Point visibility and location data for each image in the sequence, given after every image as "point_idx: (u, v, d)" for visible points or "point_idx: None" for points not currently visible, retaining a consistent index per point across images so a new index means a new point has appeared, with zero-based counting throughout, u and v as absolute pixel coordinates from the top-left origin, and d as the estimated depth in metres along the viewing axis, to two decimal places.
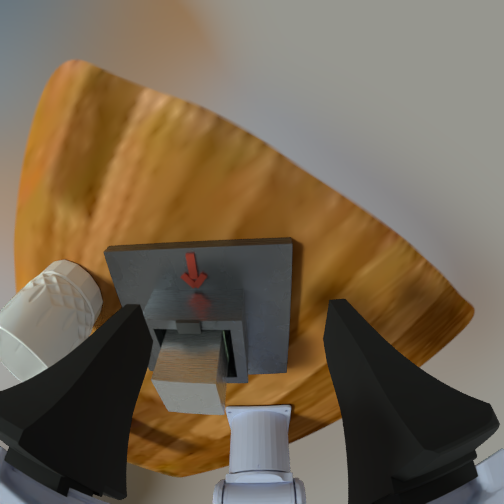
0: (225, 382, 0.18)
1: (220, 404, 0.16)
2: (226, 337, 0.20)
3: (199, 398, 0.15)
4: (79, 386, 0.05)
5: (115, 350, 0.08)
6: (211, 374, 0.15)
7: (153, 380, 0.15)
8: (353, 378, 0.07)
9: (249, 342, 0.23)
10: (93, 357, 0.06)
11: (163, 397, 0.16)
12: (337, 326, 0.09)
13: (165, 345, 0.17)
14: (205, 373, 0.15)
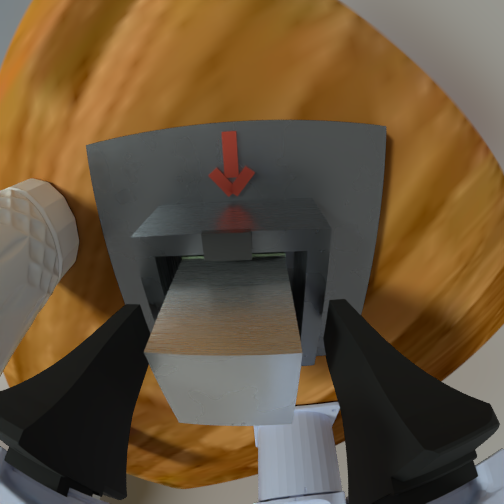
0: None
1: (293, 403, 0.07)
2: None
3: (253, 393, 0.07)
4: (79, 386, 0.05)
5: (115, 350, 0.08)
6: (287, 334, 0.07)
7: (149, 353, 0.06)
8: (353, 378, 0.07)
9: None
10: (93, 357, 0.06)
11: (170, 395, 0.07)
12: (337, 326, 0.09)
13: (177, 286, 0.09)
14: (272, 332, 0.07)
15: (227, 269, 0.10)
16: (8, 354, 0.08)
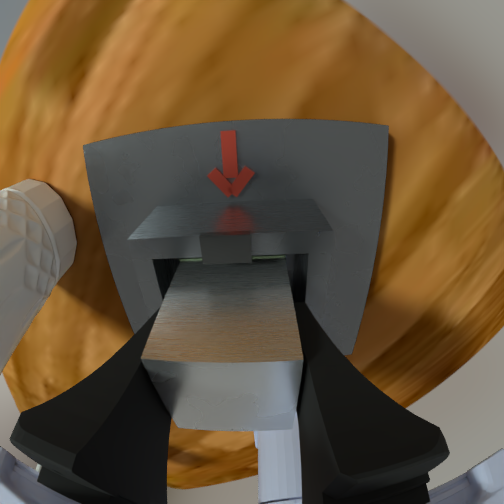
0: None
1: (294, 409, 0.07)
2: None
3: (252, 400, 0.07)
4: (127, 396, 0.05)
5: None
6: (287, 340, 0.07)
7: (146, 360, 0.06)
8: (302, 384, 0.07)
9: None
10: (138, 363, 0.06)
11: (168, 401, 0.07)
12: None
13: (175, 289, 0.09)
14: (273, 338, 0.07)
15: (226, 272, 0.10)
16: (5, 357, 0.07)
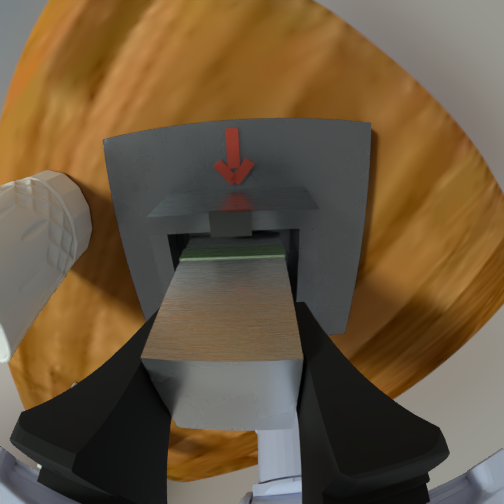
0: None
1: (294, 408, 0.07)
2: None
3: (253, 399, 0.07)
4: (127, 396, 0.05)
5: None
6: (287, 339, 0.07)
7: (146, 359, 0.06)
8: (302, 384, 0.07)
9: None
10: (138, 363, 0.06)
11: (168, 400, 0.07)
12: None
13: (175, 289, 0.09)
14: (273, 337, 0.07)
15: (226, 271, 0.10)
16: (25, 328, 0.09)
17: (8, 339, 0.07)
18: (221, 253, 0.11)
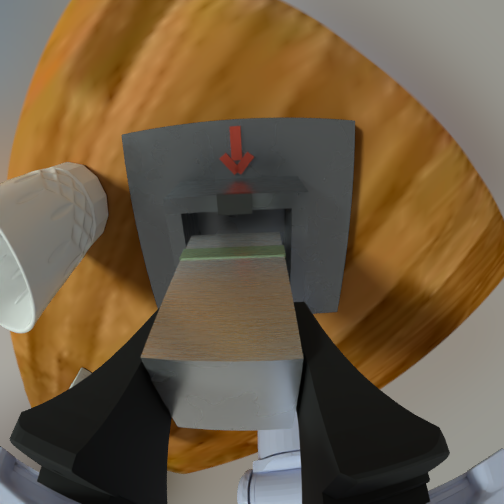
0: None
1: (294, 408, 0.07)
2: None
3: (252, 399, 0.07)
4: (127, 396, 0.05)
5: None
6: (287, 339, 0.07)
7: (146, 359, 0.06)
8: (302, 384, 0.07)
9: None
10: (138, 363, 0.06)
11: (168, 400, 0.07)
12: None
13: (175, 289, 0.09)
14: (273, 337, 0.07)
15: (226, 271, 0.10)
16: (49, 298, 0.11)
17: (35, 304, 0.10)
18: (221, 252, 0.11)
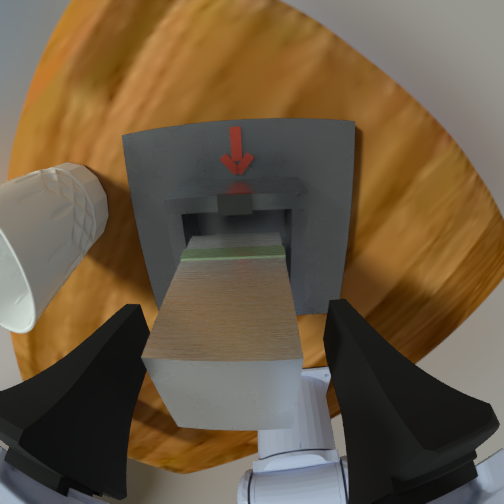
0: None
1: (294, 408, 0.07)
2: None
3: (253, 399, 0.07)
4: (79, 386, 0.05)
5: (115, 350, 0.08)
6: (287, 339, 0.07)
7: (146, 359, 0.06)
8: (353, 378, 0.07)
9: None
10: (93, 357, 0.06)
11: (169, 400, 0.07)
12: (337, 326, 0.09)
13: (175, 289, 0.09)
14: (273, 337, 0.07)
15: (226, 271, 0.10)
16: (49, 298, 0.11)
17: (35, 305, 0.10)
18: (221, 253, 0.11)
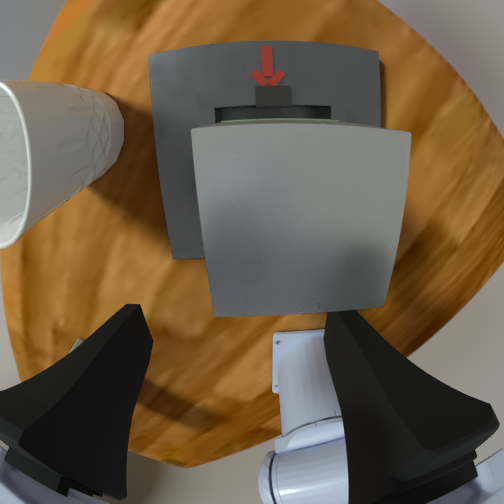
0: None
1: (394, 251, 0.05)
2: None
3: (346, 219, 0.05)
4: (79, 386, 0.05)
5: (115, 350, 0.08)
6: (382, 128, 0.05)
7: (199, 132, 0.04)
8: (353, 378, 0.07)
9: None
10: (93, 357, 0.06)
11: (213, 236, 0.05)
12: (337, 326, 0.09)
13: None
14: (365, 125, 0.05)
15: None
16: (49, 197, 0.09)
17: (32, 190, 0.08)
18: (268, 119, 0.09)
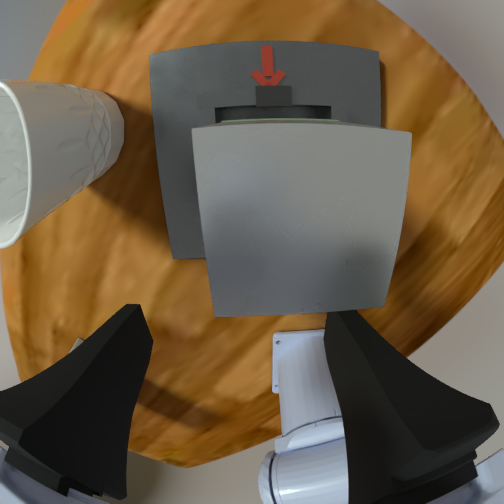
0: None
1: (394, 251, 0.05)
2: None
3: (347, 219, 0.05)
4: (79, 386, 0.05)
5: (115, 350, 0.08)
6: (383, 128, 0.05)
7: (199, 131, 0.04)
8: (353, 378, 0.07)
9: None
10: (93, 357, 0.06)
11: (214, 236, 0.05)
12: (337, 326, 0.09)
13: None
14: (365, 125, 0.05)
15: None
16: (50, 197, 0.09)
17: (32, 190, 0.08)
18: (268, 119, 0.09)
